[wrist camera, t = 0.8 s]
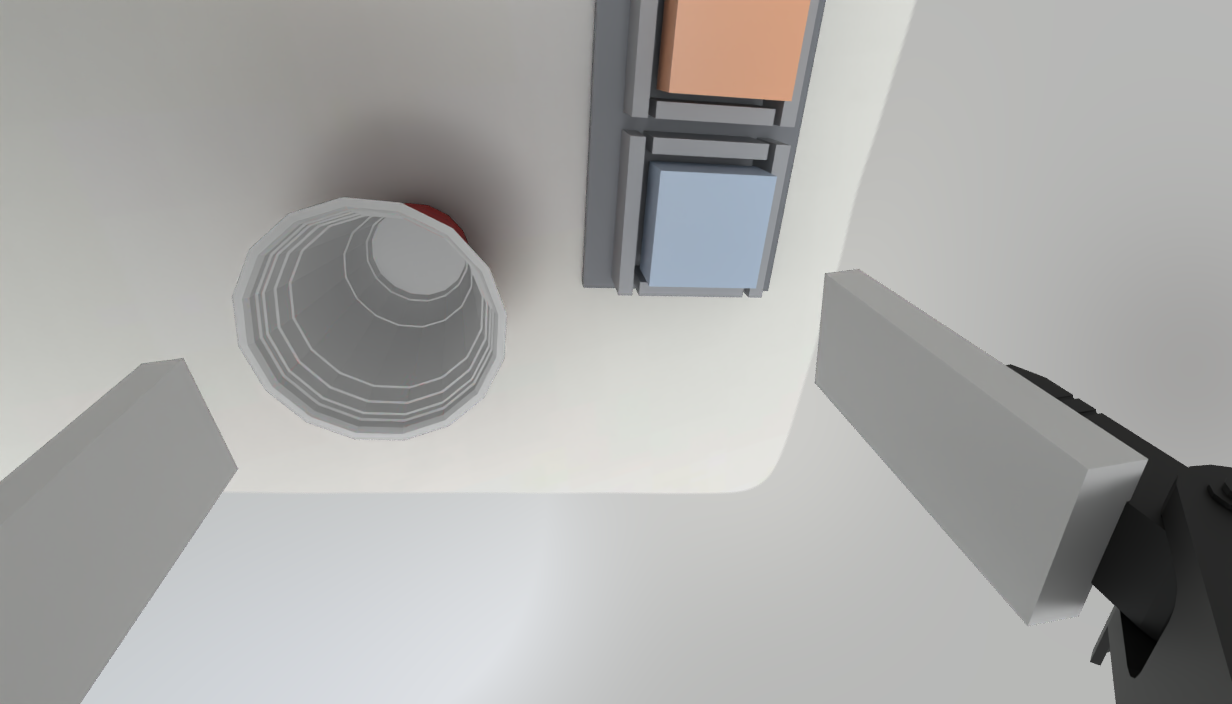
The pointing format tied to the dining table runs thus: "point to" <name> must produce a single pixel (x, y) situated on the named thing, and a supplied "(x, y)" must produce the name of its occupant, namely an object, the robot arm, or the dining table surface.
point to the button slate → (705, 224)
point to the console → (671, 142)
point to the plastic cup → (370, 318)
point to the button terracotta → (732, 47)
